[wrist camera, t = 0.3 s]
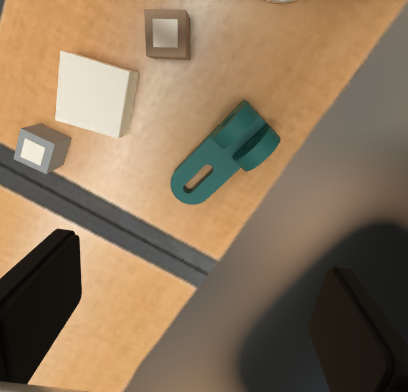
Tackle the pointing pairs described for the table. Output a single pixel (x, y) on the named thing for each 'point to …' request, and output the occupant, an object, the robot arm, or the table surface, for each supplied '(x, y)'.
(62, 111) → the plain block
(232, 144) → the bracket
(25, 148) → the slate block
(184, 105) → the table surface
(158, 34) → the walnut block
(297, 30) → the table surface
